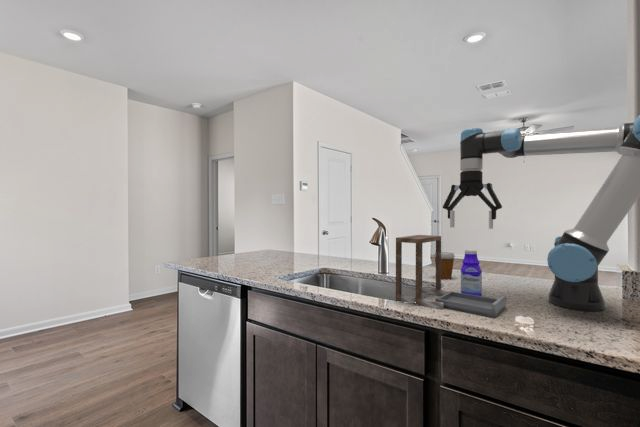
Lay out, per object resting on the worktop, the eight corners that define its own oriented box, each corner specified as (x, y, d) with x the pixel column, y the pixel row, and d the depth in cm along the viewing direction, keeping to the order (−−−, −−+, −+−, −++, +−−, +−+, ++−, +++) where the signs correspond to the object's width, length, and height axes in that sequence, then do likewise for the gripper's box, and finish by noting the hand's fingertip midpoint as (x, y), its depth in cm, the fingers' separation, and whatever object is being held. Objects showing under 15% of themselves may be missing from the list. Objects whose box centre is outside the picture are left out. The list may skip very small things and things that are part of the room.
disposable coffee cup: (456, 280, 149) (457, 254, 149) (435, 279, 151) (435, 254, 151) (452, 276, 158) (452, 252, 158) (432, 276, 160) (432, 251, 160)
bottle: (460, 297, 120) (460, 250, 119) (460, 294, 125) (460, 249, 125) (482, 299, 117) (482, 251, 117) (481, 295, 122) (481, 249, 122)
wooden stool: (461, 298, 119) (461, 237, 119) (441, 309, 105) (442, 240, 104) (418, 290, 130) (418, 234, 130) (395, 300, 115) (395, 237, 115)
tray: (506, 307, 107) (506, 295, 107) (495, 318, 96) (495, 304, 96) (450, 298, 119) (450, 287, 119) (435, 306, 108) (435, 294, 108)
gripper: (511, 169, 115) (511, 228, 115) (441, 174, 132) (441, 226, 132) (506, 167, 110) (506, 229, 110) (434, 172, 126) (434, 227, 126)
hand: (470, 228), depth 121 cm, fingers open, 13 cm apart
